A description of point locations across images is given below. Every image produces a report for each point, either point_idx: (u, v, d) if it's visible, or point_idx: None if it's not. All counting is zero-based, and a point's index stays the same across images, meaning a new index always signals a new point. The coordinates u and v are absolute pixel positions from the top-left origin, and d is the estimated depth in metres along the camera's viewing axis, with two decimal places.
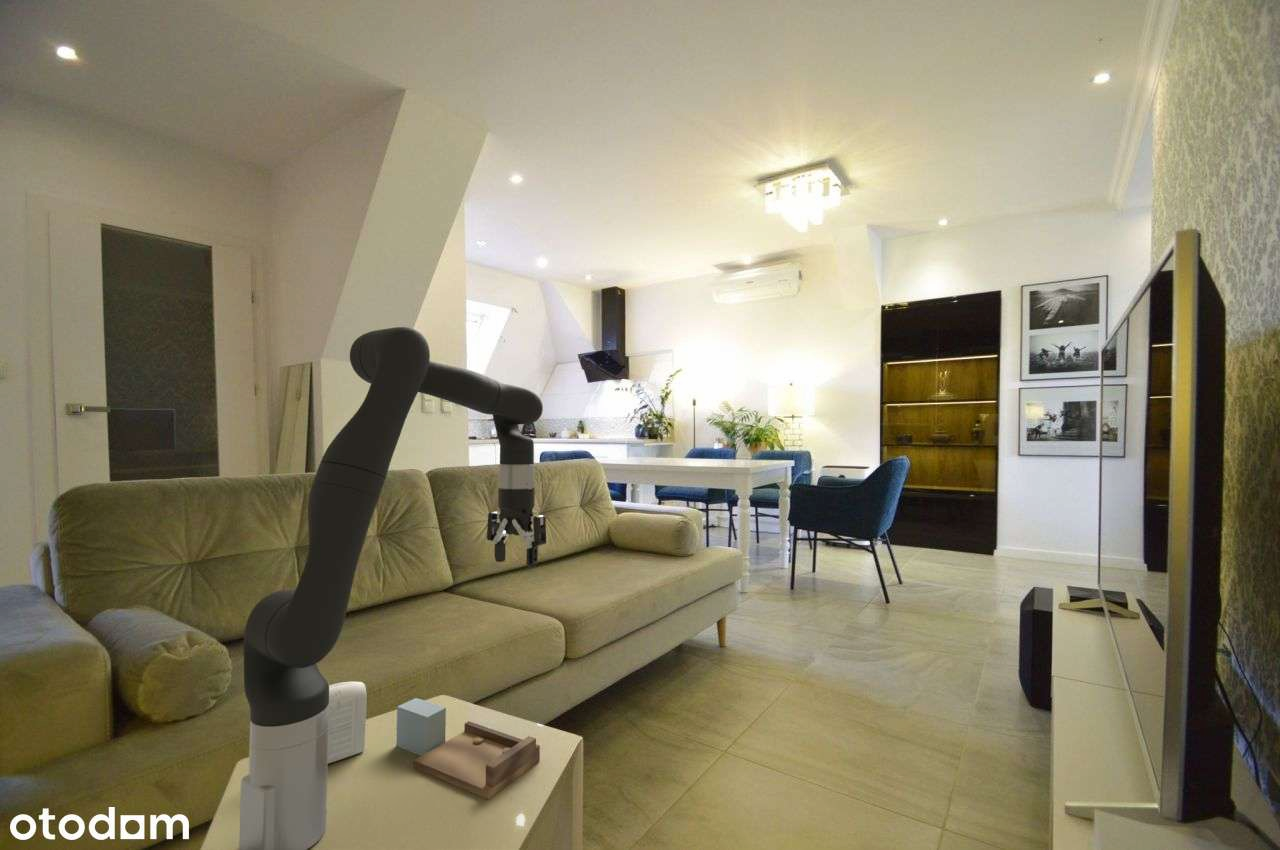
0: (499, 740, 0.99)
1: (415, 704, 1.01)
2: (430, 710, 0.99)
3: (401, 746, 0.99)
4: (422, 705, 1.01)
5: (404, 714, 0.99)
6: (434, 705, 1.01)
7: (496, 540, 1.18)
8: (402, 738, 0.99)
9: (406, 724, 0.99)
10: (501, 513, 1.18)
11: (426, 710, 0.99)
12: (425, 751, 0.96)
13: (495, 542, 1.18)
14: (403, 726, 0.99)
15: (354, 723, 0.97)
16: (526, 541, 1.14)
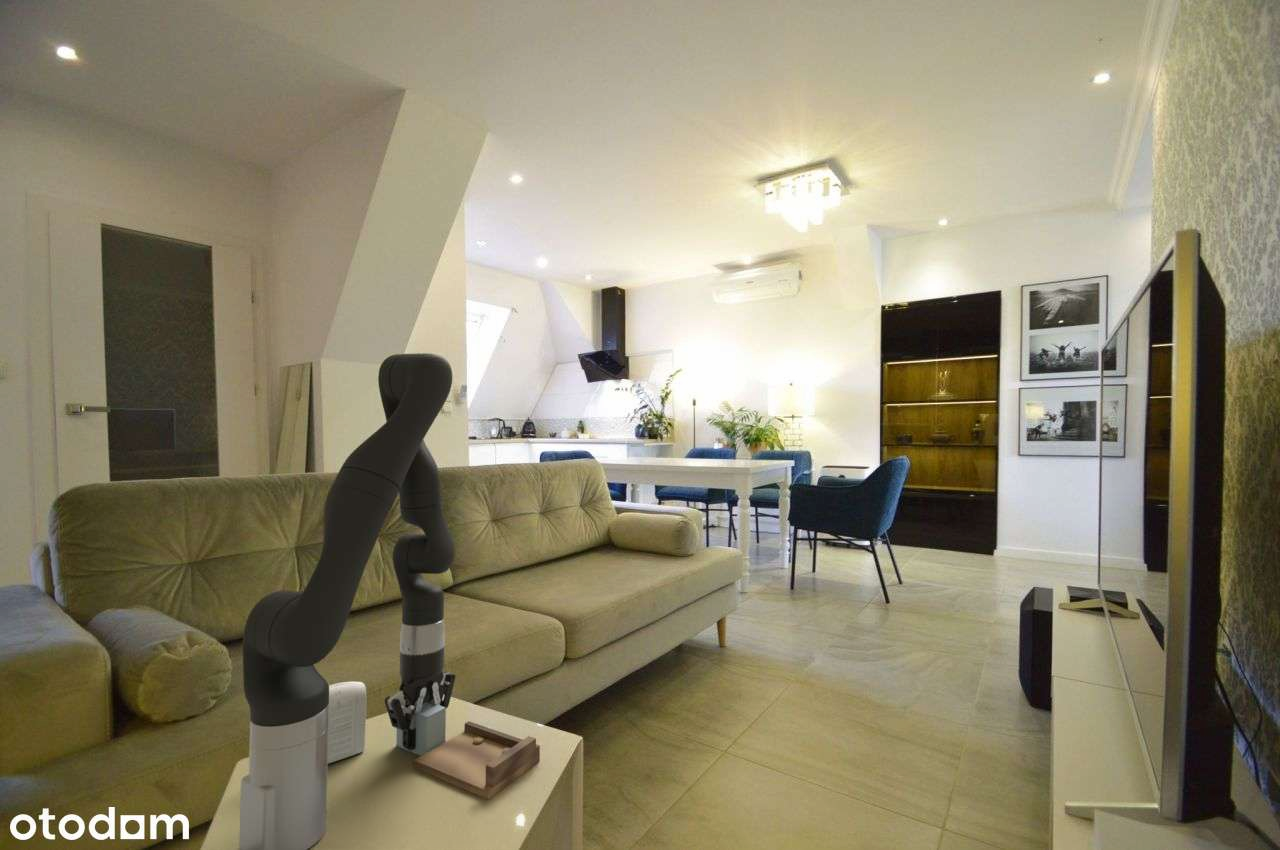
0: (499, 740, 0.99)
1: None
2: (430, 709, 0.99)
3: (401, 745, 0.99)
4: (422, 705, 1.01)
5: None
6: None
7: (414, 723, 0.97)
8: None
9: None
10: (409, 687, 0.97)
11: (426, 710, 0.99)
12: (425, 751, 0.96)
13: (413, 726, 0.97)
14: None
15: (354, 723, 0.97)
16: None
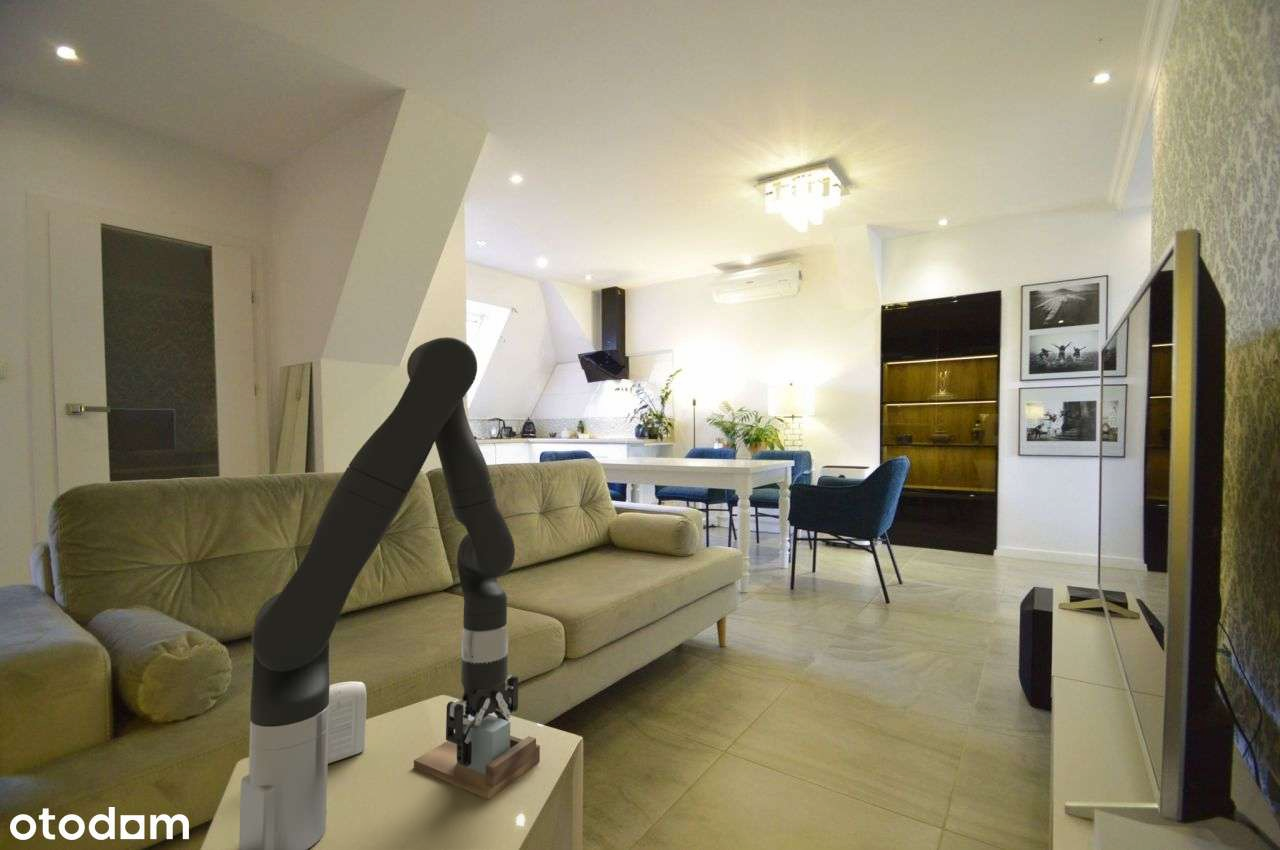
0: None
1: None
2: (494, 724, 0.91)
3: None
4: (485, 719, 0.93)
5: (466, 728, 0.92)
6: (497, 718, 0.93)
7: (470, 736, 0.88)
8: None
9: None
10: (474, 696, 0.90)
11: (489, 725, 0.91)
12: None
13: (469, 740, 0.88)
14: None
15: (354, 722, 0.97)
16: (505, 713, 0.95)
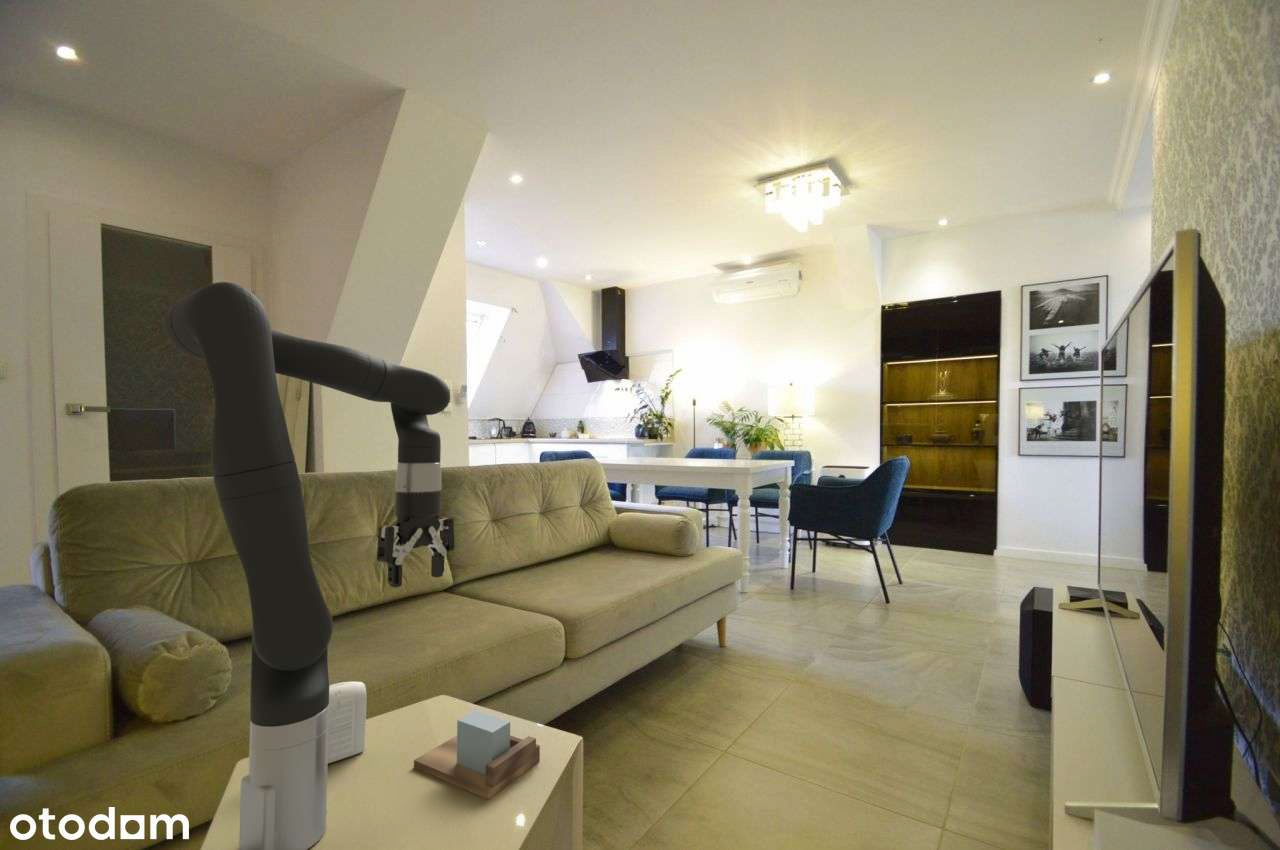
0: None
1: (476, 717, 0.94)
2: (494, 724, 0.91)
3: (462, 763, 0.92)
4: (485, 719, 0.93)
5: (466, 728, 0.92)
6: (497, 718, 0.93)
7: (400, 559, 0.93)
8: (463, 755, 0.92)
9: (467, 739, 0.91)
10: (407, 524, 0.95)
11: (489, 725, 0.91)
12: None
13: (399, 562, 0.93)
14: (465, 741, 0.92)
15: (354, 723, 0.97)
16: (440, 549, 1.00)
